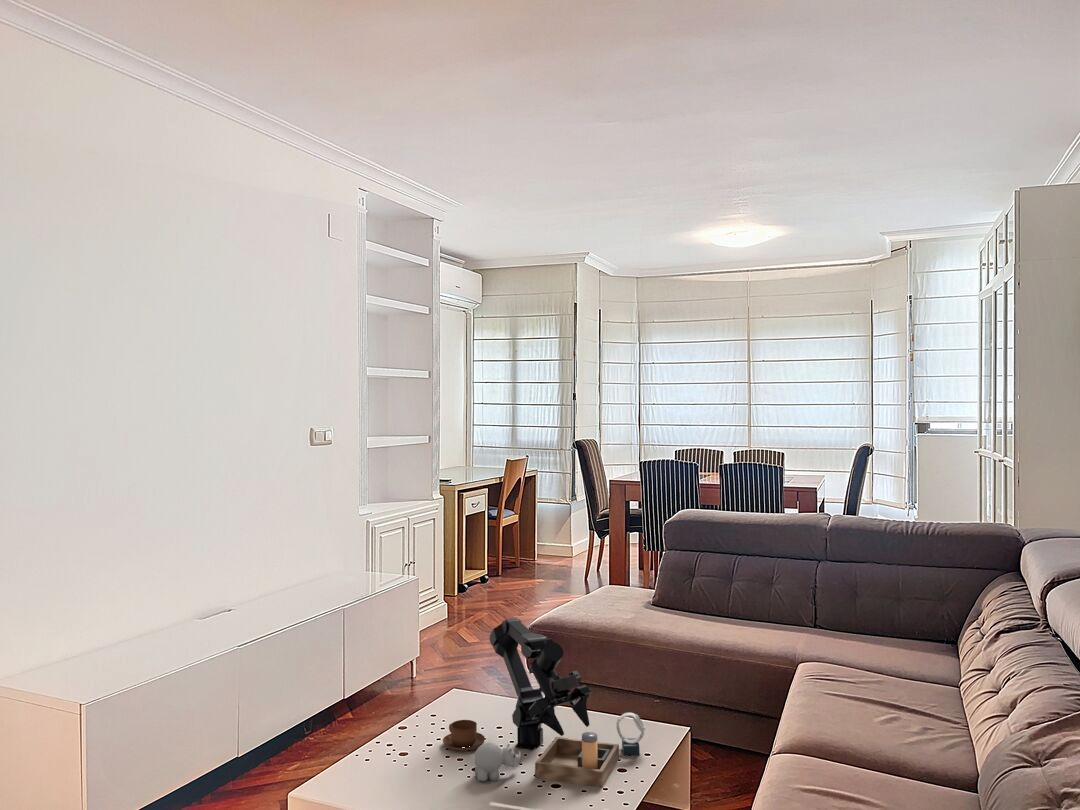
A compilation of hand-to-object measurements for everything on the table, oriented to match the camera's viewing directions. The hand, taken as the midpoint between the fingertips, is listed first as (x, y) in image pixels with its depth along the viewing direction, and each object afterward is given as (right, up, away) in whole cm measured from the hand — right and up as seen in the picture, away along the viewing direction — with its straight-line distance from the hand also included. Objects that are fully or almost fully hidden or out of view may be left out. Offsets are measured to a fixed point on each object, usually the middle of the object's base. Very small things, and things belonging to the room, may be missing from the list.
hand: (575, 730), depth 220 cm
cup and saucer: (-31, -12, +19) cm, 39 cm away
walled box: (+1, -11, +2) cm, 12 cm away
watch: (+16, -12, +13) cm, 23 cm away
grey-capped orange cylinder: (+4, -11, -4) cm, 12 cm away
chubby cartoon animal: (-20, -12, -1) cm, 24 cm away
